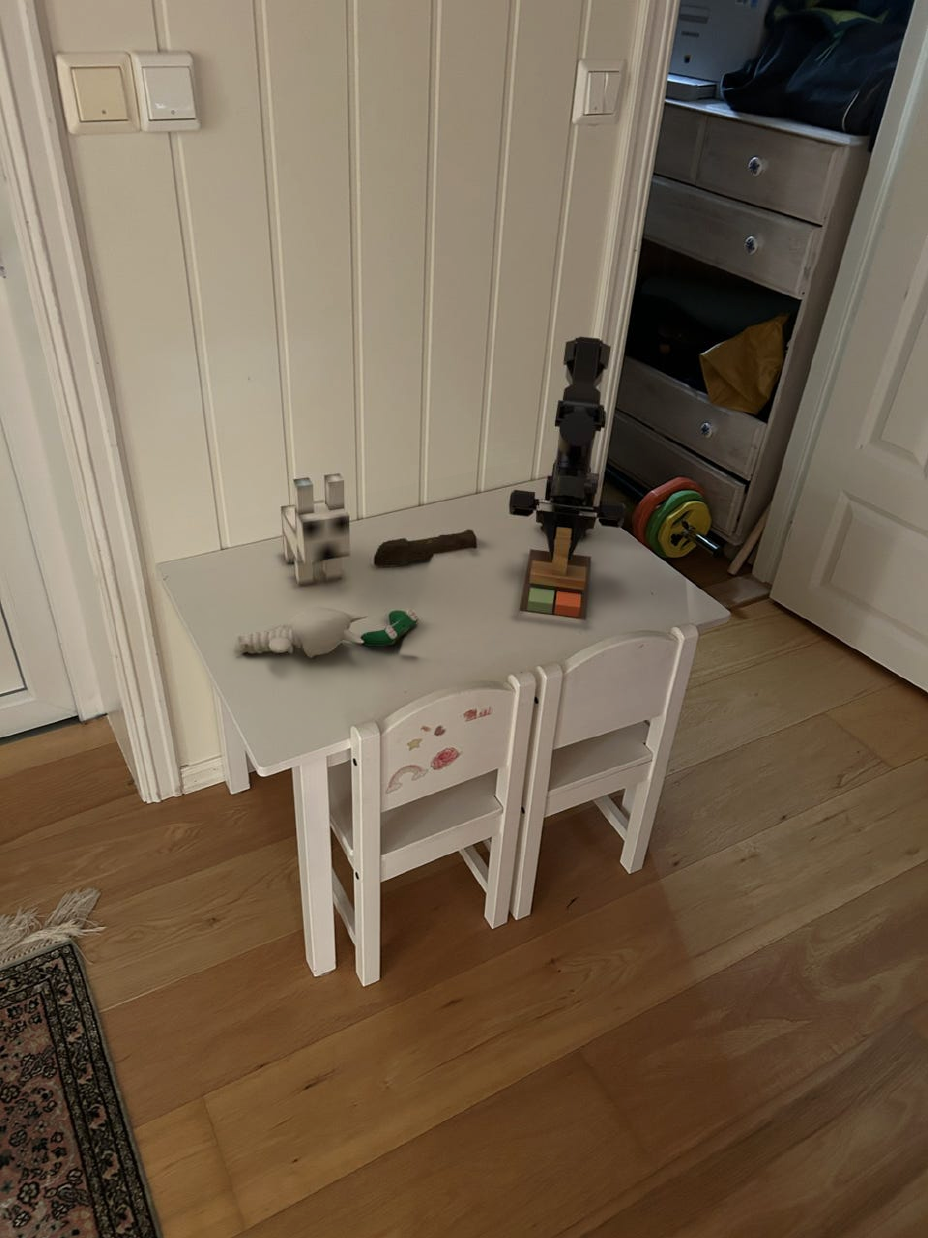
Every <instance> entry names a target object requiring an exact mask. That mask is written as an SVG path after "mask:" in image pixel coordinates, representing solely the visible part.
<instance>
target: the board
mask: <svg viewBox="0 0 928 1238" xmlns="http://www.w3.org/2000/svg"><path fill="white" fill-rule="evenodd" d="M533 560H534V561H542V562H550V563H552V561H553V559H551V558H550V553H549V550H542V549H541V550H540V549H533V548H531V549H529V555H528V560H527V564H526V571H525V576H524V583H523V587H522V591H521V592H522V594H521V599H520V603H519V610H518V611H519V612H523V613H532V614H540V615H548V616H553V617H561V618H570V619H577V620H583V621H584V620H585V621H586V620H587V618H588V617H587V614H588V603H589V590H590V589H589V588H590V576H591V574H590V573H591V561H592V556H588V555H579V554H573V556H572V558H571V560H570V561H567V565H573V566H581V567H586V578H585V586H584V590H582V597H581V602H580V611H579V617H573V616H565V615H557V614H554V611H555V602H556V598H554V599H553V607H552V614H550V613H542V612H534V611H527V608H528V600H529V592H530V584H531V583H529V582H530V574H531V568H532V562H533Z"/></svg>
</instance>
